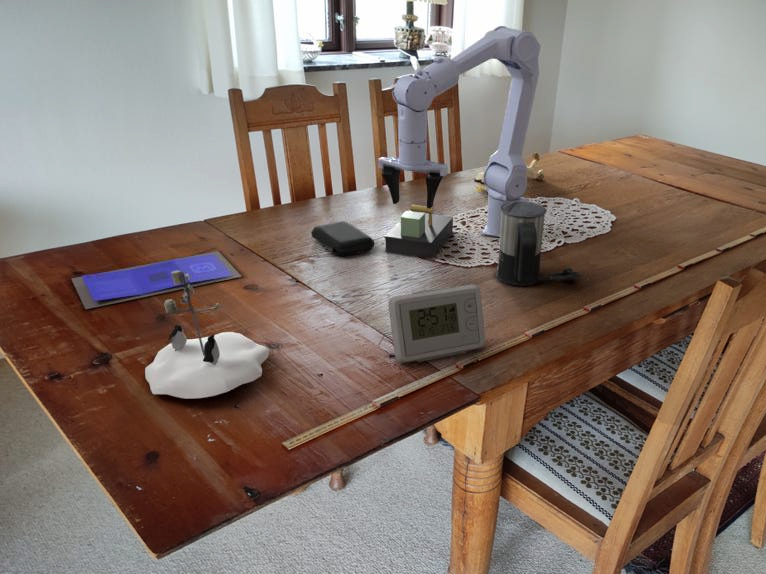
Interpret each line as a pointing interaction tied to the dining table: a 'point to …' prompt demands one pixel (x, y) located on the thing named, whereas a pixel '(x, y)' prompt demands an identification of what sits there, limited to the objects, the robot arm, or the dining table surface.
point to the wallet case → (419, 245)
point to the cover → (432, 227)
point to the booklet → (151, 279)
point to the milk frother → (524, 245)
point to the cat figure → (529, 174)
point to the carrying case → (342, 238)
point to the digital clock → (436, 323)
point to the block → (412, 224)
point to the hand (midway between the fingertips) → (412, 204)
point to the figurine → (203, 358)
